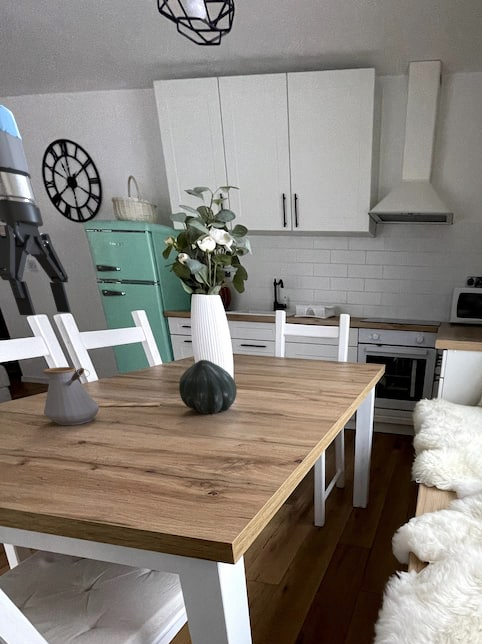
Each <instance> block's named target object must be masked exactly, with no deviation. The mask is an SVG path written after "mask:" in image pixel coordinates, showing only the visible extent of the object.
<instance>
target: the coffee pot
mask: <svg viewBox="0 0 482 644" xmlns="http://www.w3.org/2000/svg"><path fill="white" fill-rule="evenodd" d="M85 371H86V372H88V375H86V376H85V378H87V377H89V376H90V374H91V373H90V371H89V369H86V368H84V367H80V368H78V369H77V368H76V367H74V366H60V367H59V366H58V367H50V368H45V369H43V370H42V373H43V374H44V375H46V376H47V378H48V379H49V382H48V388H47V393H46V398H45V403H44V409H43V414H44V416H45V417H46V418H47V419H48V420H50V421H52V422H53V423H54V422H55V423H56V424H57V425H60V426H73V425H81V424H86V423H88V422H91V421H93V420H94V418H95V417H96V416H97V415H98V413H99V410H100V407H99V406H98V405H97V403H98V402H96V401H95V399H94V398H93V397H92V396H91V395H90V393H89V392H88V391H87V390H86V389H85V387H84V386H83V384H82V383H81V382H80V381H79V380H78V379H79V378H80V377H81V378H83V375H84V372H85Z"/></svg>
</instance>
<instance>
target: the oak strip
mask: <svg viewBox="0 0 482 644" xmlns="http://www.w3.org/2000/svg"><path fill="white" fill-rule="evenodd" d="M96 403H97V405H98V406H99V408H113V407H114V408H118V407H117V406H150V407H159V406H161V405H162V404H161V403H162V402H96ZM160 404H161V405H160Z"/></svg>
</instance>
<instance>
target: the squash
mask: <svg viewBox="0 0 482 644" xmlns="http://www.w3.org/2000/svg"><path fill="white" fill-rule="evenodd" d="M178 388H179V389H178V391H179V396H180V399H181V401H182V403H183V404H184V405H185V406H186V407H188V408H189V409H191V410H194V411H198V412H199V413H200V414H205V415H207V414H208V413H211V414H218V413H219V411H220V412H225V411H228V410H229V409H230V408H231V407H232V405H233V404H234V403H235V401H236V397H237V393H238V389H237V384H236V382H235V379H234V378H233V376H232V375H231V374H230V373H229V372H228V371H227V370H226V369H224V368H223V367H222V366H220V365H218V364H216V363H214V362H212V361H210V360H208V359H200V360H198V361H196V362H195V363H193V364H192V365H191V366H189V368H187V369H186V370H185V371H184V372H183V373H182V375H181V377H180V379H179V386H178Z"/></svg>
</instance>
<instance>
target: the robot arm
mask: <svg viewBox="0 0 482 644" xmlns="http://www.w3.org/2000/svg"><path fill="white" fill-rule="evenodd" d="M31 176H32V175H31V173H30V169H29V165H28V161H27V157H26V153H25V150H24V145H23V138H22V136H21V134H20V132H19V128H18V125H17V122H16V120H15V116H14V114H13V113H12V111H10V109H8V108H7V107H5V106H4V105H2V104H0V223H2V224H0V278H1V280H3V281H8V282H9V286H10V289H11V292H12V295H13V297H14V301H15V304H16V306H17V310H18V313H19V316H37V314H36V310H35V306H34V304H33V300H32V297H31V293H30V290H29V287H28V283H27V281H24V280H23V277H24V272H25V268H26V262H27V257H28V255H30V256H32V258H33V257H34V258H35V259H36V261H37V262H38V264H39V265H40V267H41V268H42V270H43V271H44V272H45V274H46V275H47V277H48V278H49V279H50V281H49V286H50V290H51V293H52V297H53V300H54V304H55V308H56V312H57V313H72V311H71V306H70V302H69V298H68V294H67V291H66V287H65V284H64V283H69V276H68V274H67V271H66V270H65V268H64V266H63V264H62V262H61V260H60V258H59V256H58V253H57V252H56V249H55V247H54V245H53V243H52V239H51V236H50V235H49V233H47V232H46V233H45V232H44V233H43V232H40V231H39V227H40V228H41V227H43V226H44V220H43V216H42V213H41V209H40V207H39V206H38V205H37V203H38V198H37V195H36V190H35V186H34V184H33V179H32V177H31Z"/></svg>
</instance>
